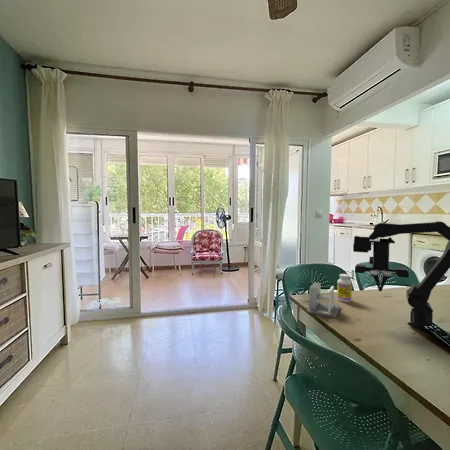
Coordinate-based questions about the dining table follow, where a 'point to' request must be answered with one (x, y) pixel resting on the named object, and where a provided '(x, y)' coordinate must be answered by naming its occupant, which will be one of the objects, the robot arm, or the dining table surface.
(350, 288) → the supplement bottle
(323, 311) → the base
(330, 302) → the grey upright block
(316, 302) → the anvil block
